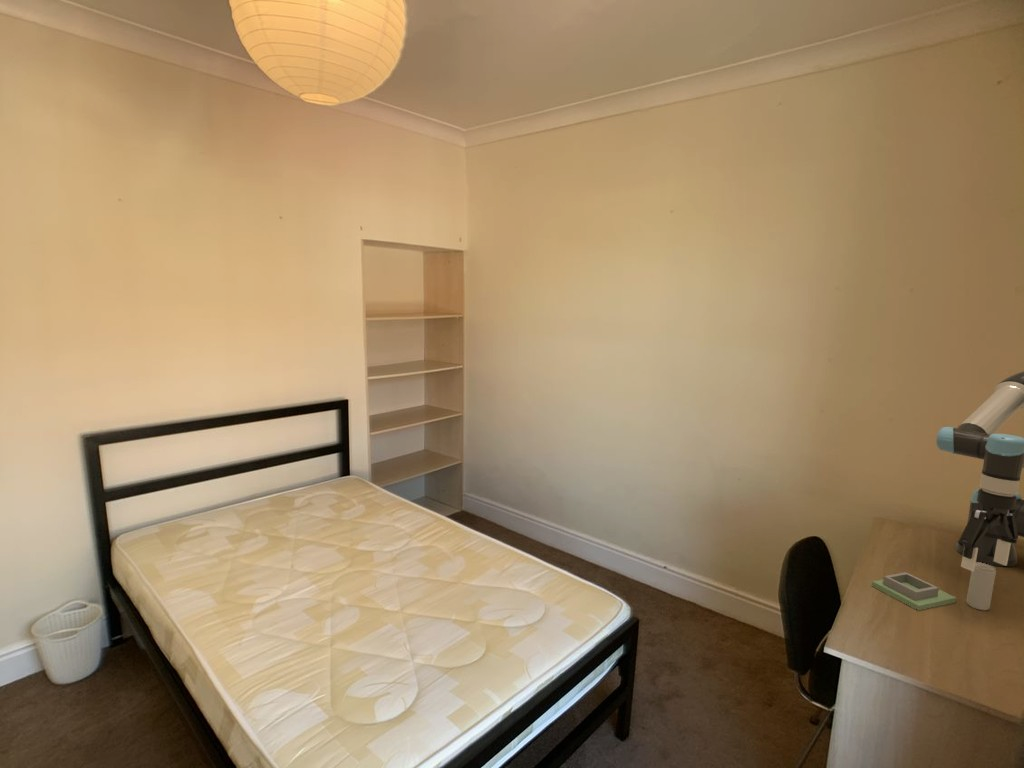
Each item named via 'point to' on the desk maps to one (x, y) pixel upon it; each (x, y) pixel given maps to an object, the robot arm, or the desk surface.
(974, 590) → the beverage can
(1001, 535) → the robot arm
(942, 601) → the green tray with frame
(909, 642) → the desk surface
